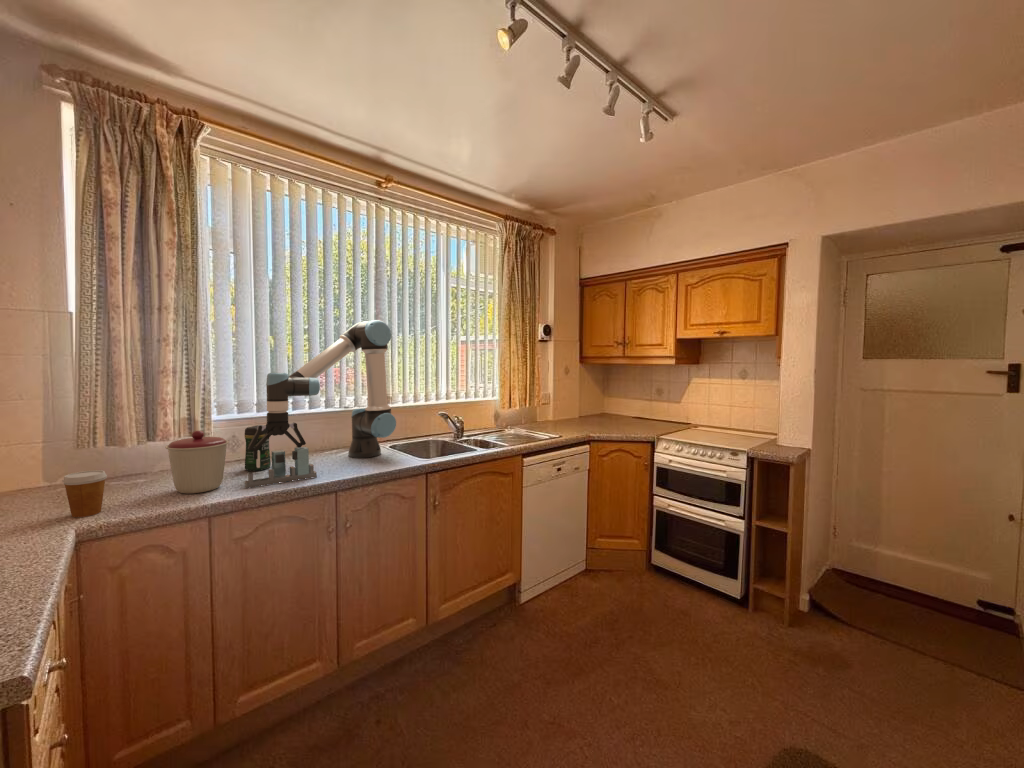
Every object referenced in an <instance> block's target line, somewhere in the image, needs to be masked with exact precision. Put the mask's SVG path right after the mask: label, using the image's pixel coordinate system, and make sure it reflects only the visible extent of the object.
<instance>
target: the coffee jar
mask: <svg viewBox="0 0 1024 768" xmlns="http://www.w3.org/2000/svg"><path fill="white" fill-rule="evenodd" d="M258 425H259V424H257V425H253V426H248V427H246V428H245V429H244V434H243V435H244V440H245V456H244V457H245V458H244V470H245V471H248V472H256V471H258V472H259V471H263V469H264V470H266V469H269V468H270V467H272V461H271V452H270V437H269V438H268V439H267V440H266V441H265V443H264V444H263V445H262V446H261V447H260V448H259V449H258V450H259V451H260V468H257V467H256V459H254V458H253V450H249V449H248V446H249V444H250V442H251V440H252V438H253V437H254V435H255V433H256V431H257V426H258ZM267 432H268V431H267V429H266V428H265V429H264V430H263V431H261V434H260V436H259V438H258V439H257V441H256V443H255V445H254V447H255V446H256V444H257V443H258V442H259V441H260V440H261V439H262V438H263V437H264V435H265V434H266V433H267Z"/></svg>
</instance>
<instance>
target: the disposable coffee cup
mask: <svg viewBox="0 0 1024 768" xmlns="http://www.w3.org/2000/svg"><path fill="white" fill-rule="evenodd" d="M107 477H108V474H107V473H106V471H105V470H103V469H102V470H101V469H100V470H99V469H97V470H96V469H94V470H86V471H85V470H84V471H79V472H72V473H69V474H66V475H64V476H63V479H62V480H61V482H62V484H63V485H64V487H65V491H66V498H67V502H68V505H69V506H68V507H69V511H70V513H71V517H72V518H85V517H90V516H91V517H92V516H94V515H97V514H99V513H101V512H102V507H103V500H104V499H103V498H104V492H105V483H106V480H107Z"/></svg>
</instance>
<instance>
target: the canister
mask: <svg viewBox="0 0 1024 768" xmlns="http://www.w3.org/2000/svg"><path fill="white" fill-rule="evenodd" d="M229 443H230V441H229V440H227V439H225V438H223V437H220V436H219V437H218V436H205V432H204V431H203V430H195V431H193V432H192V433H191V437H188V438H182V439H176V440H174V441H172V442H170V443H169V444H168V445H165V449H166V450H167V452H168V458H169V464H170V470H171V476H172V481H173V485H174V488H175V490H176V491H177V492H178V493H181V494H201V493H206V492H211V491H214V490H216V489H218V488H219V487H220V486H221V485H222V483H223V479H224V473H225V465H226V454H227V445H228V444H229Z"/></svg>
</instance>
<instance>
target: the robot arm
mask: <svg viewBox="0 0 1024 768" xmlns="http://www.w3.org/2000/svg"><path fill="white" fill-rule="evenodd" d="M390 328H391V327H390V326H389V325H388V324H387V323H386V322H385V321H382V320H379V319H371V320H366V321H365V320H364V321H360V322H357V323H355V324H354V325H353V326H352V325H351V327H350V328H348V329H347V330H345V332H343V333H342V334H340V335H339V339H338V340H336V341H335V342H334V343H332V344H331V345H330V346H328V347H326V349H324V350H323V351H321V352H320V353H319V354H317V355H316V356H315V357H313V358H312V359H311V360H309V361H308V362H306V363H305V364H304V365H302V366H301V367H300V368H298V369H297V370H296V371H294V372H292V373H291V374H290V375H289V373H287V372H269V373H268V374H267V375H266V384H265V386H266V411H267V412H266V424H265V425H264V424H257V425H258V426H257V425H256V426H257V431H256V433H255V435H254V437H253V438H252V440H251V442H250V444H249V446H248V449H249V450H253V458H254V459H256V467H257V468H260V451H259V450H258V449H259V448H260V447H261V446H262V445H263V444H264V443H265V441H266V440H267V439H268V438H269V439H270V438H271V436H273V437H274V436H276V437H277V436H283V435H285V436H286V437H288V438H289V440H290V441H291V442H292V443H293V444H294V445H296V446H294V450H293V451H295V448H299V447H303V446H306V444H307V442H306V440H305V439H304V437H303V435H302V433H301V432H300V430H299V428H298V423H296V422H291V423H289V412H288V411H289V397H311V396H317V395H319V393H320V390H321V384H320V381H319V379H318V377H320V376H321V375H322V374H324V373H325V372H326V371H327V370H329V369H330V368H332V367H333V366H335V364H336V363H338V362H339V361H340V360H342V359H343V358H345V357H346V356H347V355H348V354H350V353H355V352H356V351H358V350H359V349H360V348H361V349H360V350H361V351H362V352H363V353H364V355H365V356H364V359H365V375H366V376H365V377H366V387H367V388H366V390H367V406H366V407H364V408H355V409H353V410H352V411H351V442H350V444H349V445H350V446H349V448H348V455H347V456H348V457H350V458H358V459H364V458H365V459H366V458H372V457H373V458H374V457H378V456H380V455H381V454H382V449H381V446H380V444H379V440H378V439H379V438H381V439H383V438H388V437H389V436H391V435H392V434H393V433H394V432H395V430H396V427H397V419H396V417H395V416H394V415H393V414H392V407H391V406H390V405H389V404H388V393H387V376H386V372H387V371H386V356H385V354H386V353H387V350H388V349H389V348H388V347H389V346H388V344H389V343H390V341H391V339H392V330H391V329H390ZM265 428H266V429H267V431H268V432H267V433H266V434H265V435H264V437H263V438H262V439H261V440H260V441H259V442H258V443H257V444H256V446H255V447H254V445H255V443H256V441H257V439H258V438H259V436H260V434H261V431H263V430H264V429H265ZM289 428H291V429H292V430H293V432H294V433H295V436H297V439H298V440H299V441H298V440H297V439H296V438H295V437H294V436H293V435H292V434H291V433H290V432H289V431H288V429H289ZM294 462H295V460H294Z"/></svg>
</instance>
